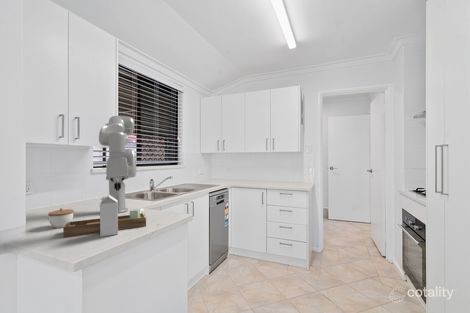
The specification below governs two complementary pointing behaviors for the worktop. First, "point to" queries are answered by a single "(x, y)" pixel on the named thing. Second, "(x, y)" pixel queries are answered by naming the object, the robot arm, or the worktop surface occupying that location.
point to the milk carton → (108, 216)
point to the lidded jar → (60, 217)
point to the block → (134, 213)
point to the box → (94, 225)
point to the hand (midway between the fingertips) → (117, 190)
